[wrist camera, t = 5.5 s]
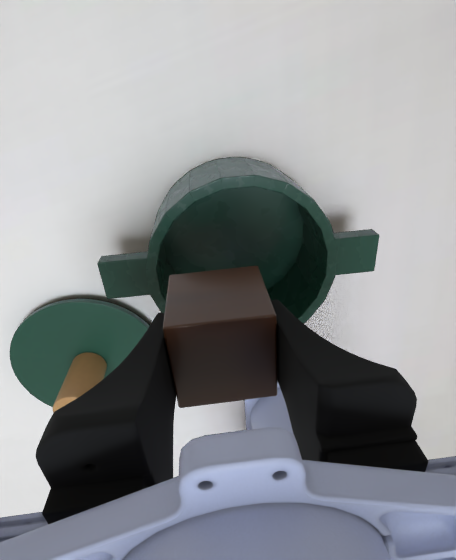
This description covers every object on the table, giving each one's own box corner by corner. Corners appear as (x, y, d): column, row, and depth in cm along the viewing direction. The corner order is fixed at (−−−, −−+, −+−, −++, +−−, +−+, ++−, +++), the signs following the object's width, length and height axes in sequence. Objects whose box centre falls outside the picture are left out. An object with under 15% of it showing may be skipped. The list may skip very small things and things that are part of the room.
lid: (175, 397, 32) (172, 454, 27) (43, 413, 31) (15, 474, 26) (152, 286, 26) (143, 332, 21) (-9, 302, 25) (-57, 354, 20)
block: (260, 335, 18) (277, 396, 14) (181, 345, 17) (178, 409, 14) (257, 264, 16) (276, 314, 12) (168, 274, 16) (161, 328, 12)
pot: (340, 291, 28) (370, 333, 23) (132, 313, 27) (120, 361, 22) (354, 146, 22) (398, 161, 18) (97, 168, 22) (71, 191, 17)
